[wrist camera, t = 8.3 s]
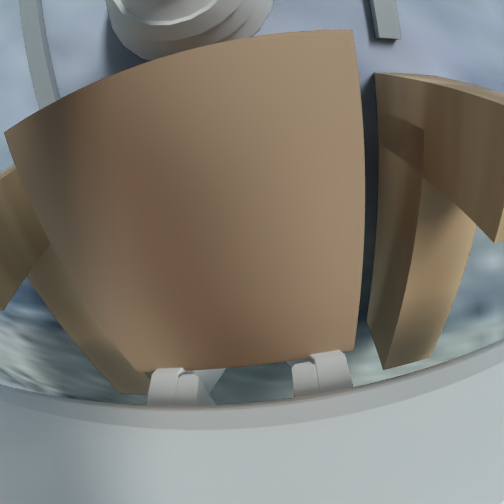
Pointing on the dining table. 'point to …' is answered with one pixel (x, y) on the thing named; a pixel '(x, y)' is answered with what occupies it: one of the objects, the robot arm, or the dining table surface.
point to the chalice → (183, 23)
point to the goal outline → (42, 67)
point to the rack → (387, 234)
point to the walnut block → (210, 200)
